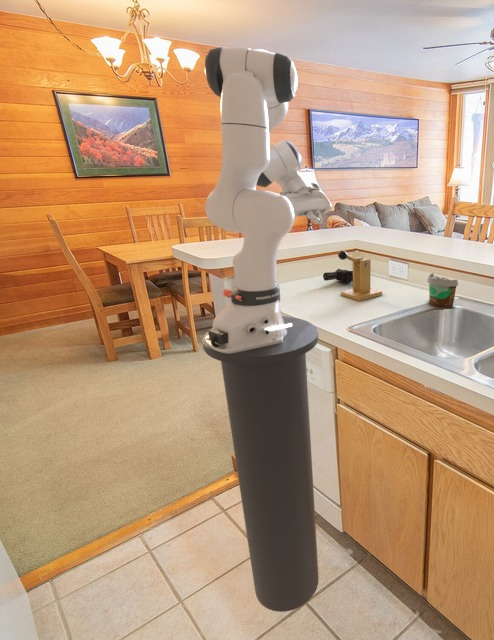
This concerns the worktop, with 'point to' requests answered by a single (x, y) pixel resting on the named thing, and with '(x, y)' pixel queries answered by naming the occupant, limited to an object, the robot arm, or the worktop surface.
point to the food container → (441, 291)
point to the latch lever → (348, 257)
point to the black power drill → (339, 275)
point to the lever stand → (361, 282)
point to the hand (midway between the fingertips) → (319, 222)
